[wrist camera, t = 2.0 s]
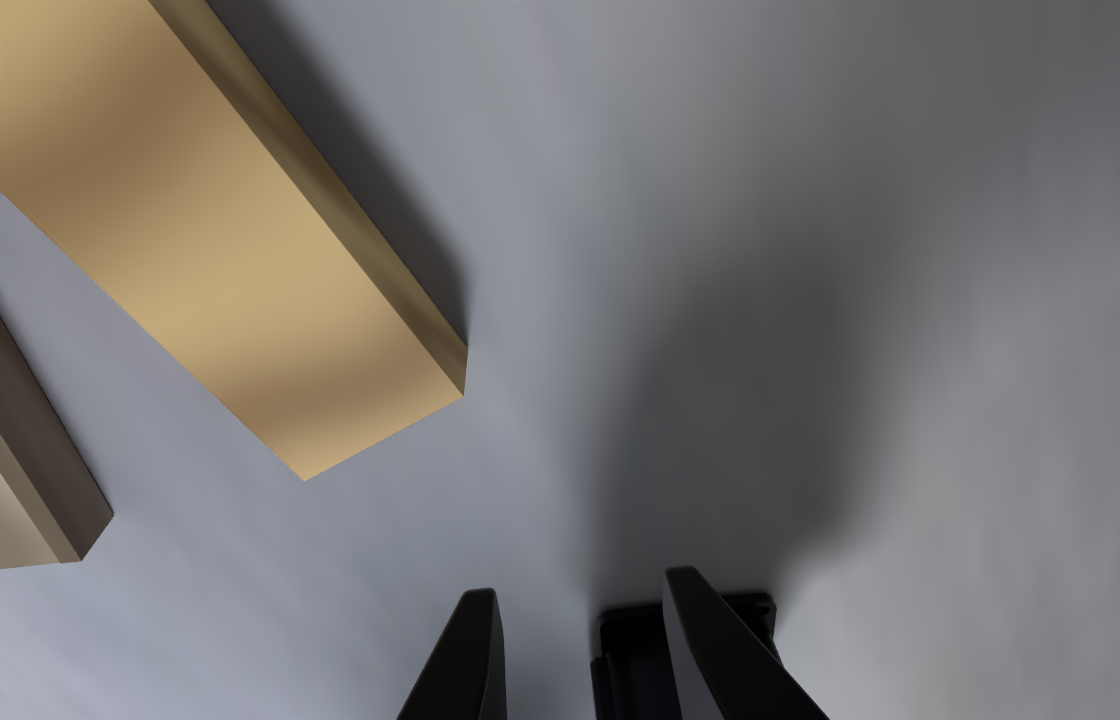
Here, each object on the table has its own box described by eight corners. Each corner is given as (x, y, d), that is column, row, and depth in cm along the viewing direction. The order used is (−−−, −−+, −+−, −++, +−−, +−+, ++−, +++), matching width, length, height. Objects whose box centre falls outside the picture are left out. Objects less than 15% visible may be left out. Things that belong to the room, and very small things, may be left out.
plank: (468, 348, 18) (462, 408, 16) (325, 427, 19) (298, 494, 17) (-115, -422, 11) (-306, -543, 8) (-305, -225, 12) (-528, -279, 9)
